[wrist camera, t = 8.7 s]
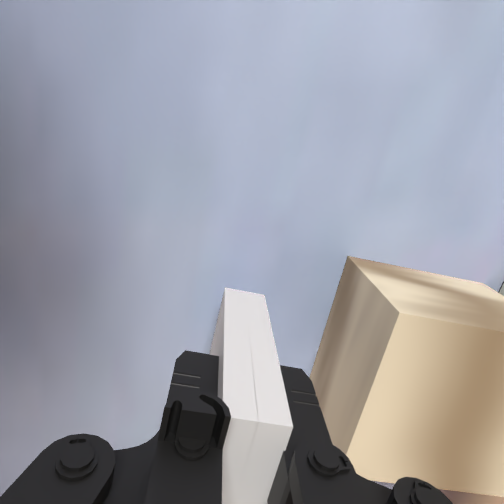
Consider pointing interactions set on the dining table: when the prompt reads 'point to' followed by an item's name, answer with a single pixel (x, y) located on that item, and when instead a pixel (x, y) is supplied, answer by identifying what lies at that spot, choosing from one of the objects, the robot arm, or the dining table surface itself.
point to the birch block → (415, 377)
